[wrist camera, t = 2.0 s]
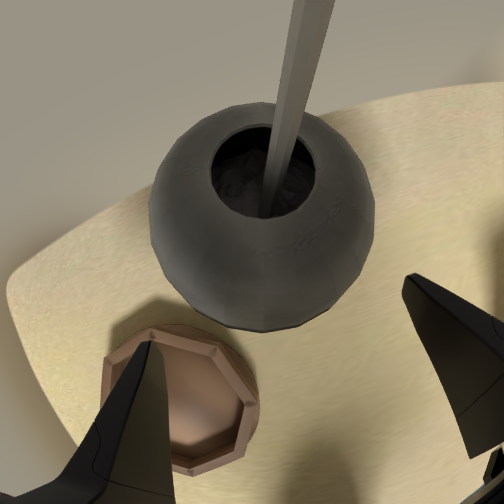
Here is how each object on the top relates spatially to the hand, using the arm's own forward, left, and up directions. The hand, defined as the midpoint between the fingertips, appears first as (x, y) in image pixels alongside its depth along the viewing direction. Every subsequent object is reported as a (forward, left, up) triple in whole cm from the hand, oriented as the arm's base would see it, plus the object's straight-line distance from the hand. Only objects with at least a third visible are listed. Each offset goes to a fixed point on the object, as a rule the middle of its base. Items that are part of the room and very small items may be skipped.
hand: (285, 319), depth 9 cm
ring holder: (-9, +5, -11) cm, 15 cm away
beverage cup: (+3, +1, -11) cm, 12 cm away
